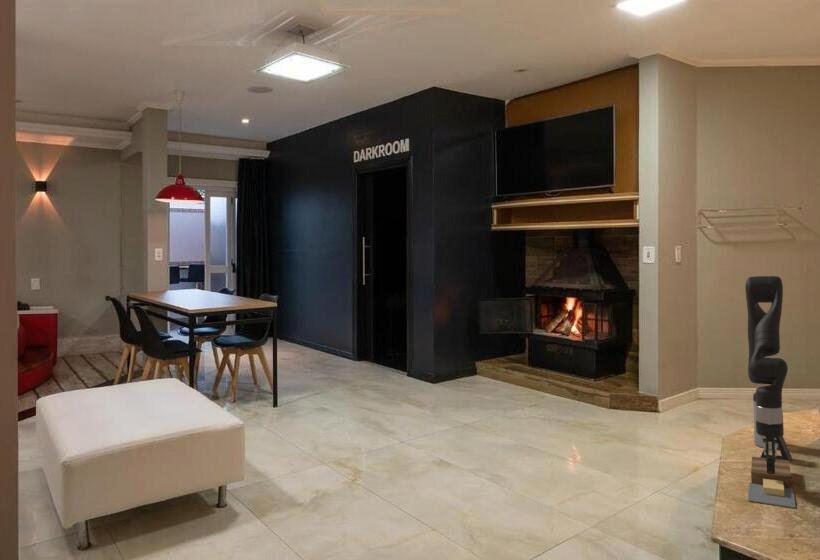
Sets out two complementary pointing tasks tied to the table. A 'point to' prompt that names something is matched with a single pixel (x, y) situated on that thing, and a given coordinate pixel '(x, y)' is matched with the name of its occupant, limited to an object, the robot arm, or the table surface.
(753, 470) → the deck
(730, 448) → the table surface
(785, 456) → the phone stand
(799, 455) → the table surface
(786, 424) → the table surface
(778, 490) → the yellow block
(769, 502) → the mat
